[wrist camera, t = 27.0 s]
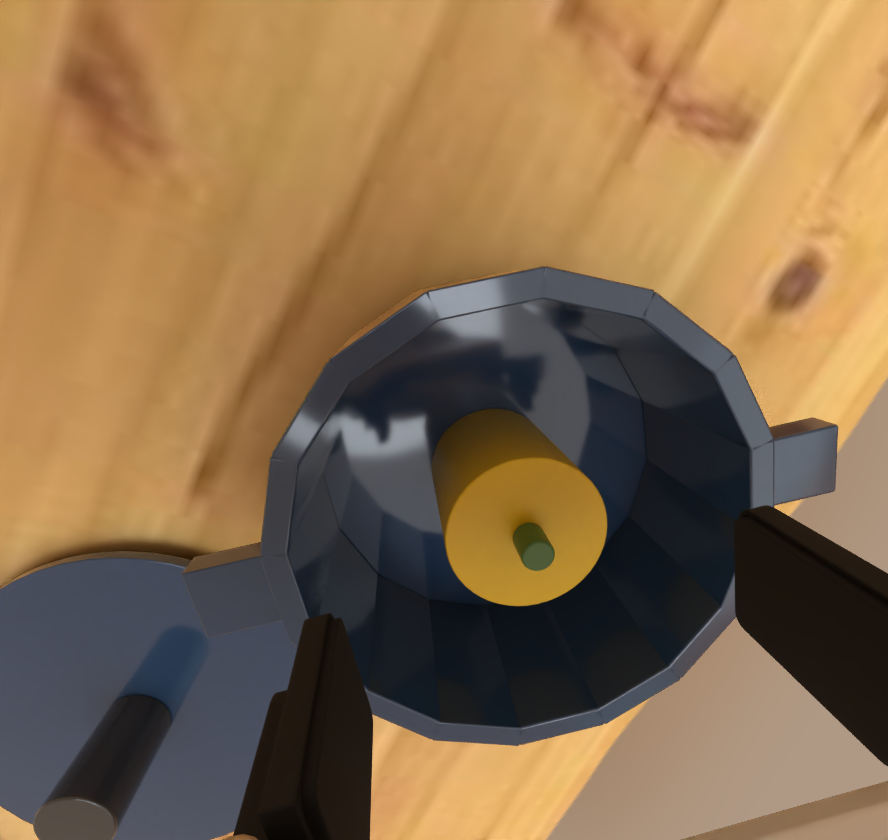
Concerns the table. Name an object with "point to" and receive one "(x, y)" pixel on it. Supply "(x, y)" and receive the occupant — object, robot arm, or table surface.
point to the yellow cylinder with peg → (514, 510)
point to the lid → (128, 702)
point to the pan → (580, 438)
